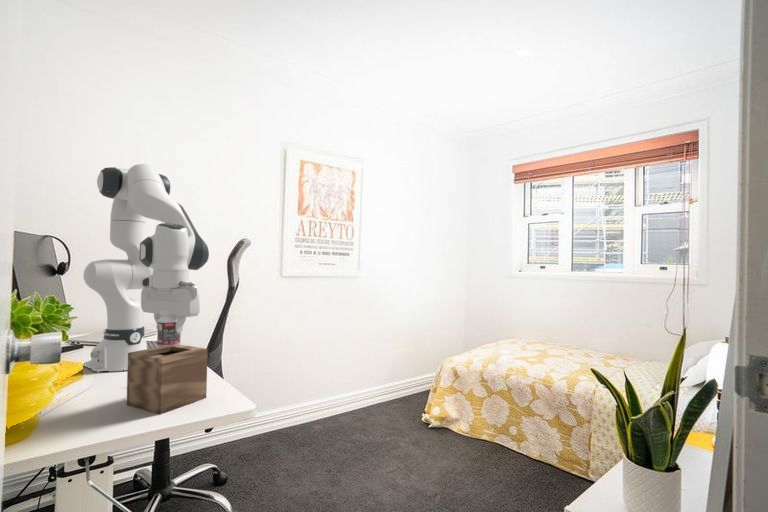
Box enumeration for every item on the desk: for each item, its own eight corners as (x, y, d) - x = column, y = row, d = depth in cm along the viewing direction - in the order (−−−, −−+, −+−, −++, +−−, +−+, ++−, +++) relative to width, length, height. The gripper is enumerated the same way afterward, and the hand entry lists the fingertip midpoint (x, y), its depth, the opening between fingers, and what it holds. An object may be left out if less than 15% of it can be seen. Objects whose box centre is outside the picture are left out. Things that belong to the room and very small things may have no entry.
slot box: (126, 404, 108) (128, 352, 109) (173, 390, 121) (174, 343, 121) (160, 414, 102) (161, 359, 103) (206, 398, 115) (207, 349, 115)
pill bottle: (164, 348, 108) (165, 311, 108) (152, 346, 111) (153, 310, 111) (184, 345, 113) (185, 309, 113) (173, 342, 116) (173, 308, 116)
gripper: (206, 282, 110) (205, 332, 110) (157, 279, 119) (156, 326, 119) (186, 282, 105) (184, 336, 105) (136, 280, 114) (135, 329, 114)
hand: (169, 330), depth 112 cm, fingers closed on pill bottle, 6 cm apart
